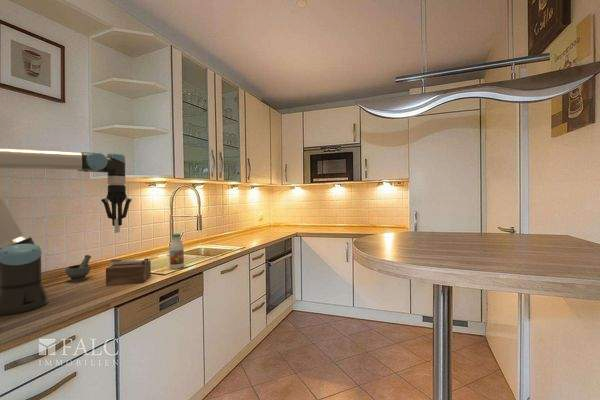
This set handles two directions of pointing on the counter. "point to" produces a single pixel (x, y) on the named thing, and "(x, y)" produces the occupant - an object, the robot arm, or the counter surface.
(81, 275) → the mortar and pestle
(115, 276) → the crate
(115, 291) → the counter surface
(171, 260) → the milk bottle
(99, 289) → the counter surface
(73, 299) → the counter surface
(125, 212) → the robot arm
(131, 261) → the clasp bar
